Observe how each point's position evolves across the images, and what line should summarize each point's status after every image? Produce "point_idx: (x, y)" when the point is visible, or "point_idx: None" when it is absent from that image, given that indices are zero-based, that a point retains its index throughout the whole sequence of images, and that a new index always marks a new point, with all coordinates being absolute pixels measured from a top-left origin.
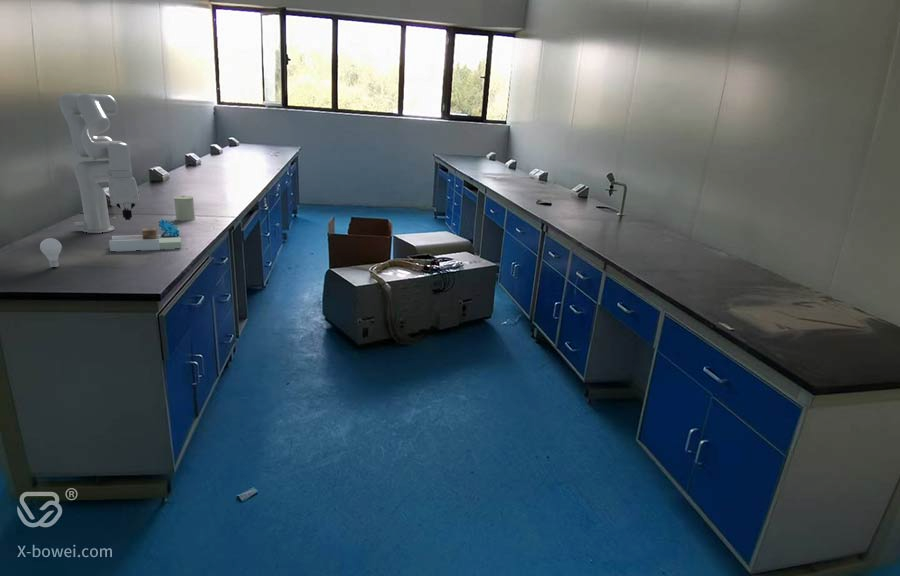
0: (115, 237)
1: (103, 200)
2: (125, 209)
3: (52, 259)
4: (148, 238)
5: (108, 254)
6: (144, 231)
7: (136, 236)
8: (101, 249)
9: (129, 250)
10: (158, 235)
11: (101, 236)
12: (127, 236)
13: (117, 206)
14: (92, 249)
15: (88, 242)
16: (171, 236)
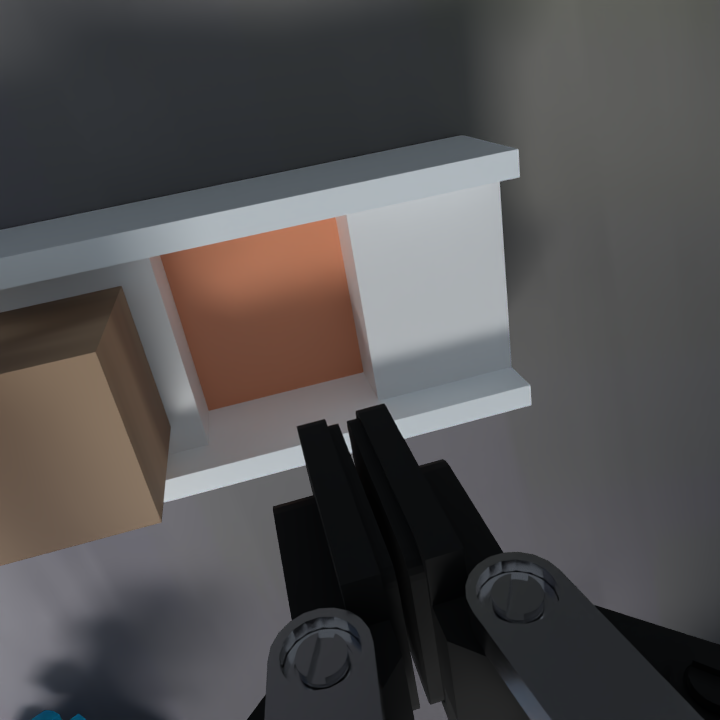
0: (489, 387)
1: None
2: (440, 623)
3: None
4: (40, 320)
5: (455, 2)
6: (61, 356)
7: (270, 447)
8: (564, 235)
9: (272, 175)
10: None
11: None
12: None
13: (706, 645)
14: (640, 232)
15: (694, 462)
16: (47, 711)
